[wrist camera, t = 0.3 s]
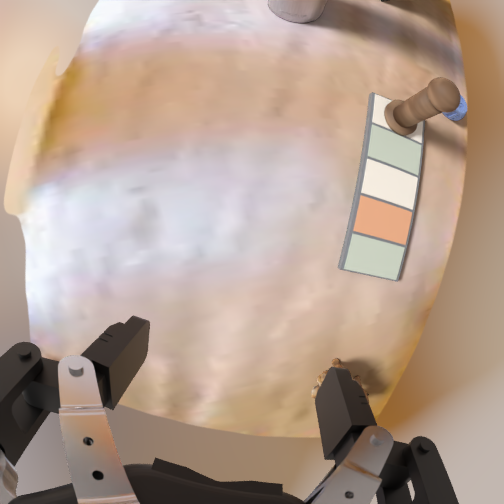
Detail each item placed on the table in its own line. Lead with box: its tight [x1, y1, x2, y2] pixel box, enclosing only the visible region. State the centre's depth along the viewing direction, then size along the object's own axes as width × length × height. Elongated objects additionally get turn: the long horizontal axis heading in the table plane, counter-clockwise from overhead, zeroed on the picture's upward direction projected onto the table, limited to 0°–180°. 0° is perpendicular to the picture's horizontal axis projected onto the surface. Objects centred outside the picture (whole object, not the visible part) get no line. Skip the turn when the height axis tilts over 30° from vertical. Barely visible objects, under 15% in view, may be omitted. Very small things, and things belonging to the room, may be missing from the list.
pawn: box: [384, 77, 461, 136], centre depth 26 cm, size 6×6×14 cm
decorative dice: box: [442, 95, 467, 121], centre depth 32 cm, size 4×4×4 cm
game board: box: [338, 92, 425, 282], centre depth 35 cm, size 27×10×1 cm, turn 168°
